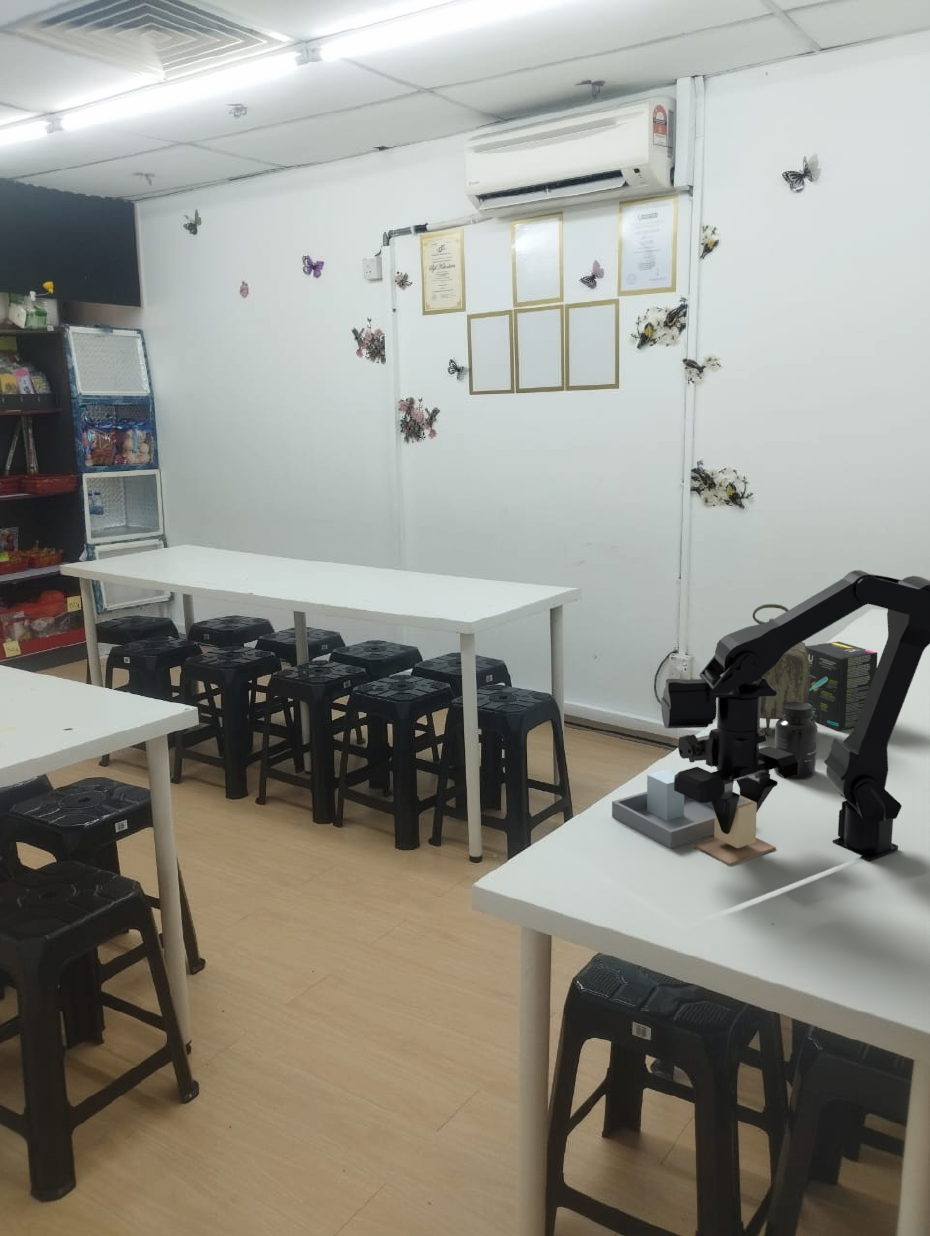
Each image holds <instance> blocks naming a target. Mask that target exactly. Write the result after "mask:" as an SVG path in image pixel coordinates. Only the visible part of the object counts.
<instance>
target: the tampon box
mask: <svg viewBox="0 0 930 1236" xmlns="http://www.w3.org/2000/svg"><path fill="white" fill-rule="evenodd" d="M805 646H806V648H807V651H808V657H809V667H810V690H809V698H808V703H807V704H809V705H811V706H812V718H811V720H812V721H813V722H815V723H817V724H820V725H822V726H825V727H828V728H830V729H833V730H834V731H835V730H836V731H841V730H847V729H848V730H849V729H852V728H853V729H854V728H855V726H856V723H857V720H858V717H859V715H860V712H861V709H862V707H863V704H864V701H865V699H866V696H867V693H868V691H869V688H870V685H871V682H872V680H873V677H874V674H875V672H876V669H877V666H878V652H876V651H873V650H869V649H866V648H862V647H860V646H859V647H858V646H855V645H851V644H848V643H846V642H842V641H834V642H826V643H817V644H813V645H805Z"/></svg>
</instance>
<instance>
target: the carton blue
mask: <svg viewBox="0 0 930 1236" xmlns="http://www.w3.org/2000/svg"><path fill="white" fill-rule="evenodd" d="M675 775H676V774H674V773H672V772H671V771H668V770H666V769H663V770H659V771H656V772H652V773H648V774H646V776H647V777H646V778H647V779H646V785H647V786H646V788H647V789H646V791H647V811H649V812H650V813H652V814H654V815H656V816H658V817H660V818H662V819H664V820H666V821H667V820H671V819H674V818H677V817H680V816H683V815H684V795H683V794H681V793H679V792H676V791H674V777H675Z"/></svg>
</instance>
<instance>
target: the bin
mask: <svg viewBox="0 0 930 1236" xmlns="http://www.w3.org/2000/svg"><path fill="white" fill-rule="evenodd" d="M611 817H612V819H614V820H617V821H619V822H620V823H622V824H624V825H626V826H627V827H629V828H631V829H633V830H635V831H637V832H639V833H640V834H642V835H644V836H645V837H648V838H650V839H651V840H653V841H656V842H658V844H661V845H663V846H664V847H666V848H668V849H670V850H672V849H675V848H678V847H680V846H684V845H686V844H690V843H692V842H696V841H698V840H701V839H705V838H707V837H709V836H710V837H711V836H714V827H715V811H714V808H713V806H712V803H711V802H708V803H700V802H698V801H696V800H693V799H691V798H689V797H687V796H685V795H684V815H683V816H680V817H677V818H674V819H671V820H667V821H666V820H664V819H662V818H660V817H658V816H656V815H654V814H652V813H650V812H649V811H647V790H646V791H644V792H640V793H637V794H633V795H630V796H627V797H623V798H619V799H616V800H612V801H611Z"/></svg>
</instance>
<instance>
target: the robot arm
mask: <svg viewBox="0 0 930 1236" xmlns="http://www.w3.org/2000/svg"><path fill="white" fill-rule="evenodd" d="M867 605H872V606H876V607H880V608H883V609H886V610H887V613H886V616H887V632H888V633H887V640H886V643H885V645H884V648H883V650H882V653H881V655H880V659H879V662H878V663H877V669H876V672H875V674H874V677H873V680H872V682H871V685H870V688H869V691H868V693H867V696H866V699H865V701H864V704H863V707H862V709H861V712H860V715H859V717H858V720H857V723H856V726H855V727H853V731H852V732H851V733H850V734H849V735H848V736H847V737H846V738H845V739H843V740H842V739H839V738H838V737H834V738H833V740H832V742H831V748H830V750H829V751H830V752H829V754H828V756H827V757H826V759H824V761H823V763H824V764H825V765H826V766H827V767H826V770H825V772H826V776H827V778H828V781H829V783H830V784H831V785H832V786H833V787H834V788H835V789H836V790H837V791H838V792H839V795H840V797H842V798H844V801H842V802H841V809H839V810H838V826H837V836H838V837H837V838H835V839H833V840H832V844H834V845H837V846H839V847H840V848H843V849H846V850H848V851H850V852H853V853H854V854H856V855H857V854H858V855H859V856H860V858H862V859H864V860H867V861H874V860H875V859H878V858H881V857H882V856H883V857H884V856H885V855H888V854H891V853H893V852H896V851H897V850H899V845H897V844H895V843H893V842H892V841H893V828H894V827H893V826H894V820H896V819H897V818H898V815H899V814H900V811H901V809H902V806H903V805H902V804H901V803H900V801H898V800H897V799H896V798H895V797H894V796H892V795H891V794H890V793H889V792H888V791H887V790H886V785H887V780H888V775H889V756H888V755H889V754H888V746H889V742H890V741H891V737H892V734H893V732H894V729H895V726H896V723H897V721H898V719H899V716H900V713H901V710H902V708H903V705H904V703H905V700H906V698H907V695H908V694H909V693H908V692H909V690H910V687H911V684H912V682H913V680H914V676H915V674H916V671H917V669H918V666H919V664H920V660H921V658H922V655H923V653H924V651H925V650H926V648H928V647H929V645H930V579H926V578H924V577H922V576H917V575H912V576H906V577H905V578H903V579H898V578H894V577H891V576H890V577H889V576H884V575H879V574H872V573H869V572H866V571H863V570H860V569H859V570H853V571H850V572H848V573H847V574H846V575H844V577H842V578H841V579H840V580H838V581H836V582H835V583H832V584H831V585H830V586H829V585H828V587H826V588H824V589H823V590H821V591H820V592H817V593H816V594H814V595H812V596H810V597H809V598H807V599H806V600H804V601H802V602H800V603H799V604H797V605H796V606H793V607H792V608H791V609H788V610H789V611H787V612H786V611H784V613H781V614H780V615H779V616H777V617H775V618H772V619H773V620H771V621H769V620H768V621H767V622H766V621H765V622H766V623H763V624H754V625H750V626H747V627H744V628H741V629H739V630H735V631H734V632H731V633H728V634H726V635H724V636H723V637H722V638H721V639H719V641H718V642H717V643H716V647H715V649H714V650H715V651H714V656H712V658H711V659H710V660H709V662H708V663H707V664H706V666H705V667H704V668H703V669H702V671H701V672H700V673H699V678H697V679H696V678H695V679H680V678H667V679H666V680H665V687H664V689H663V693H662V694H663V695H662V697H661V699H660V700H661V702H660V703H661V707H660V708H661V716H662V717H661V719H662V722H663V725H664V728H665V729H690V728H691V729H694V728H707V727H708V726H709V725H713V723H714V721H715V720H717V721H716V728H714V729H710V731H709V733H708V734H707V735H703V736H699V737H697V736H696V735H695V734H686V735H683V736H680V737H679V738H678V746H677V749H678V753H679V756H680V758H681V759H683V760H684V759H685V760H686V759H688V761H689V763H695V762H696V761H697V762H699V761H705V765H707V766H709V767H711V768H713V767H715V768H716V770H715V771H708V770H706V769H704V768H701V767H699V766H693V767H691V768H688V769H684V770H680V771H679V772H677V773H676V774H675V777H674V791H676V792H679V793H681V794H683V795H685V796H687V797H689V798H691V799H693V800H696V801H698V802H700V803H708V802H711V803H712V806H713V808H714V811H715V814H716V816H717V819H718V822H719V825H720V828H721V830H722V832H723V833H725V834H729V832H730V830H731V827H732V824H733V820H734V816H735V812H736V808H737V805H738V801H739V797H740V795H741V796H743V797H745V798H748V799H750V800H752V801H754V802H757V813H758V812H759V810H760V809H761V807H762V805H763V803H764V802H765V800H766V799H767V798H768V796H769V794H770V793H771V792H772V790H773V789H774V788H775V787H777V786H778V782H779V781H778V780H775V779H772V778H771V774H770V771H771V770H774V768H778V774H777V775H779V776H780V777H781V778H783V779H787V777H791V776H794V775H797V772H798V762H797V760H796V758H795V757H794V755H793V754H791V753H788V752H785V751H783V750H780V749H777V748H774V746H771V745H768V746H764V747H760V744H761V743H762V744H763V743H765V742H767V735H766V734H764V732H760V729H761V728H760V727H761V724H760V723H761V718H760V705H761V697H764V696H776V695H777V692H776V691H775V690H774V689H773V688H772V687H771V686H770V685H769V684H768V683H767V681H766V679H765V678H764V677H763V676H764V675H765V674H766V673H767V672H769V671H770V670H771V669H772V668H773V667H775V666H776V665H777V664H778V662H779V661H780V660H781V658H782V657H783V656H784V654H785V653H786V652H788V651H789V650H790V649H791V648H792V647H794V646H796V645H797V644H799V643H801V642H804V641H806V640H808V639H810V638H811V637H813V636H815V635H816V634H818V633H820V632H821V631H823V630H825V629H826V628H828V627H831V626H832V625H833V624H835V623H837V622H839V621H840V620H842V619H843V618H845V617H847V616H849V615H851V614H852V613H854V612H855V611H857V610H859V609H861V608H863V607H864V606H867ZM721 675H722V676H721ZM716 717H717V719H716ZM735 782H736V783H737V785H738V787H739V793H736V792H735V791H733V790H734V783H735Z"/></svg>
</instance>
